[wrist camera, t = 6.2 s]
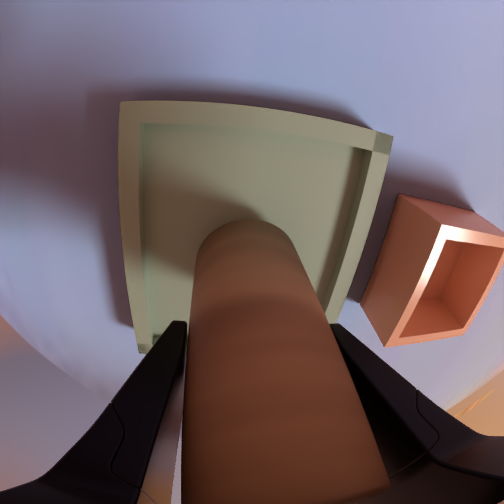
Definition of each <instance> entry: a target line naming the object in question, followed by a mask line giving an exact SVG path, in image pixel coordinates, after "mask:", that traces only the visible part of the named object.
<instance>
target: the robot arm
mask: <svg viewBox="0 0 504 504" xmlns="http://www.w3.org/2000/svg"><path fill="white" fill-rule="evenodd" d="M329 325H330V327H331V330H332V332H333V334H334V337H335V339H336V342H337V344H338V346H339V349H340V351H341V354H342V356H343V358H344V361H345V363H346V366H347V368H348V371H349V373H350V376H351V378H352V381H353V383H354V386H355V388H356V391H357V393H358V396H359V398H360V401H361V404H362V406H363V409H364V411H365V414H366V417H367V419H368V422H369V425H370V427H371V430H372V433H373V436H374V438H375V441H376V444H377V447H378V449H379V452H380V455H381V458H382V461H383V463H384V466H385V469H386V472H387V475H388V478H389V481H390V484H391V487H390V488H389V489H387V490H386V491H384V492H382V493H381V494H379V495H377V496H375V497H373V498H370V499H368V500H366V501H363V502H361V503H358V504H504V436H486V435H482V434H479V433H477V432H475V431H474V430H472V429H470V428H469V427H467V426H466V425H465V424H463V423H462V422H460V421H459V420H457V419H456V418H454V417H453V416H451V415H450V414H448V413H447V412H446V411H444V410H443V409H442V408H440V407H439V406H437V405H436V404H435V403H434V402H432V401H431V400H430V399H429V398H427V397H426V396H425V395H424V394H422V393H421V392H420V391H419V390H416V388H415V387H414V386H413V385H412V384H411V383H409V382H408V381H407V380H406V379H405V378H403V377H402V376H401V375H400V374H399V373H397V372H396V371H395V370H394V369H393V368H391V367H390V366H389V365H388V364H387V363H386V362H384V361H383V360H382V359H381V358H380V357H378V356H377V355H376V354H375V353H374V352H372V351H371V350H370V349H369V348H368V347H367V346H365V345H364V344H363V343H362V342H361V341H359V340H358V339H357V338H356V337H355V336H353V335H352V334H351V333H350V332H349V331H347V330H346V329H345V328H344V327H343V326H342V325H340V324H338V323H332V324H329ZM187 341H188V331H187V322H186V321H180V320H173V321H172V322H171V323H170V324H169V326H168V327H167V328H166V330H165V331H164V332H163V333H162V335H161V336H160V337H159V339H158V340H157V341H156V342H155V344H154V345H153V346H152V348H151V349H150V350H149V352H148V353H147V354H146V356H145V357H144V358H143V359H142V361H141V362H140V363H139V365H138V366H137V367H136V369H135V370H134V371H133V373H132V374H131V375H130V377H129V378H128V379H127V381H126V382H125V383H124V385H123V386H122V387H121V389H120V390H119V391H118V393H117V394H116V395H115V397H114V398H113V399H112V401H111V403H109V404H108V406H107V407H106V409H105V410H104V411H103V413H102V414H101V415H100V416H99V418H98V419H97V420H96V421H95V423H94V424H93V425H92V426H91V428H90V429H89V430H88V431H87V432H86V433H85V434H84V435H83V436H82V437H81V439H80V440H79V441H78V442H77V443H76V444H75V445H74V446H73V447H72V448H71V449H70V450H69V451H68V452H67V453H66V454H65V455H64V456H63V457H62V458H61V459H60V460H59V461H58V462H57V463H56V464H55V465H54V466H53V467H52V468H51V469H50V470H49V471H48V472H47V473H45V474H44V475H43V476H41V477H39V478H38V479H36V480H33V481H31V482H28V483H26V484H22V485H19V486H16V487H13V488H10V489H7V490H4V491H1V492H0V504H171V494H172V486H173V478H174V470H175V463H176V455H177V448H178V441H179V434H180V427H181V421H182V414H183V398H184V381H185V366H186V353H187Z"/></svg>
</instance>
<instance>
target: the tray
mask: <svg viewBox="0 0 504 504" xmlns="http://www.w3.org/2000/svg"><path fill="white" fill-rule="evenodd" d="M392 141H393V136H391V135H388V134H385V133H381V132H378V131H375V130H371V129H367V128H364V127H360V126H356V125H352V124H348V123H344V122H340V121H335V120H331V119H326V118H321V117H317V116H312V115H306V114H301V113H295V112H290V111H283V110H277V109H270V108H263V107H255V106H247V105H237V104H227V103H214V102H198V101H168V100H148V101H121V102H120V109H119V129H118V192H119V212H120V227H121V239H122V250H123V259H124V268H125V276H126V283H127V290H128V297H129V303H130V309H131V315H132V320H133V326H134V331H135V336H136V341H137V346H138V350H139V353H143V354H147V353H148V352H149V350H150V349H151V348H152V346H153V345H154V344H155V342H156V341H157V340H158V339H159V337H160V336H161V335H162V333H163V332H164V331H165V330H166V328H167V327H168V326H169V324H170V323H171V322H172V321H173V320H180V321H186V322H187V331H188V329H189V318H190V308H191V299H192V289H193V281H194V272H195V264H196V257H197V253H198V250H199V248H200V246H201V244H202V242H203V241H204V240H205V238H206V237H207V236H208V235H209V234H210V233H211V232H212V231H214V230H215V229H217V228H218V227H220V226H222V225H224V224H226V223H229V222H231V221H236V220H241V219H257V220H262V221H266V222H269V223H271V224H273V225H275V226H277V227H279V228H280V229H281V230H283V231H284V232H285V233H286V234H287V235H288V236H289V238H290V239H291V241H292V242H293V245H294V247H295V249H296V251H297V253H298V255H299V257H300V260H301V262H302V264H303V266H304V268H305V271H306V273H307V275H308V277H309V279H310V282H311V284H312V286H313V288H314V291H315V293H316V295H317V297H318V300H319V302H320V304H321V307H322V309H323V311H324V313H325V316H326V318H327V320H328V323H329V324H332V323H336V322H337V319H338V317H339V314H340V312H341V309H342V307H343V304H344V301H345V299H346V296H347V294H348V291H349V288H350V285H351V283H352V280H353V277H354V274H355V272H356V269H357V266H358V263H359V260H360V257H361V254H362V251H363V248H364V245H365V242H366V239H367V236H368V232H369V229H370V226H371V223H372V219H373V216H374V212H375V209H376V205H377V202H378V198H379V195H380V191H381V187H382V183H383V179H384V175H385V171H386V167H387V163H388V159H389V155H390V150H391V146H392Z"/></svg>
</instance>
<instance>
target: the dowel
mask: <svg viewBox="0 0 504 504" xmlns="http://www.w3.org/2000/svg"><path fill="white" fill-rule="evenodd" d="M181 453H182V454H181V504H358V503H361V502H363V501H366V500H368V499H370V498H373V497H375V496H377V495H379V494H381V493H382V492H384V491H386V490H387V489H389V488H390V487H391V484H390V481H389V478H388V475H387V472H386V469H385V466H384V463H383V461H382V458H381V455H380V452H379V449H378V447H377V444H376V441H375V438H374V436H373V433H372V430H371V427H370V425H369V422H368V419H367V417H366V414H365V411H364V409H363V406H362V404H361V401H360V398H359V396H358V393H357V391H356V388H355V386H354V383H353V381H352V378H351V376H350V373H349V371H348V368H347V366H346V363H345V361H344V358H343V356H342V354H341V351H340V349H339V346H338V344H337V342H336V339H335V337H334V334H333V332H332V330H331V327H330V325H329V323H328V320H327V318H326V316H325V313H324V311H323V309H322V307H321V304H320V302H319V300H318V297H317V295H316V293H315V291H314V288H313V286H312V284H311V282H310V279H309V277H308V275H307V273H306V271H305V268H304V266H303V264H302V262H301V260H300V257H299V255H298V253H297V251H296V249H295V247H294V245H293V242H292V241H291V239H290V238H289V236H288V235H287V234H286V233H285V232H284V231H283V230H281V229H280V228H279V227H277V226H275V225H273V224H271V223H269V222H266V221H262V220H257V219H241V220H236V221H231V222H229V223H226V224H224V225H222V226H220V227H218V228H217V229H215V230H214V231H212V232H211V233H210V234H209V235H208V236H207V237H206V238H205V240H204V241H203V242H202V244H201V246H200V248H199V250H198V253H197V257H196V264H195V272H194V281H193V289H192V299H191V308H190V318H189V329H188V341H187V353H186V366H185V381H184V398H183V419H182V451H181Z"/></svg>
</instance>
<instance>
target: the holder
mask: <svg viewBox="0 0 504 504" xmlns="http://www.w3.org/2000/svg"><path fill="white" fill-rule="evenodd" d="M503 263H504V232H503V231H501V230H500V229H499V228H497V227H496V226H494V225H493V224H492V223H490V222H489V221H487V220H486V219H484V218H483V217H482V216H480V215H479V214H477V213H475V212H472V211H468V210H465V209H461V208H457V207H453V206H450V205H446V204H442V203H438V202H433V201H429V200H425V199H421V198H416V197H412V196H407V195H403V194H398V197H397V200H396V204H395V207H394V210H393V214H392V217H391V220H390V223H389V226H388V230H387V233H386V236H385V239H384V242H383V244H382V247H381V250H380V253H379V256H378V259H377V261H376V264H375V267H374V269H373V272H372V275H371V277H370V280H369V282H368V285H367V287H366V290H365V292H364V295H363V297H362V300H361V302H360V305H361V307H362V308H363V310H364V312H365V314H366V315H367V317H368V319H369V321H370V322H371V324H372V326H373V328H374V329H375V331H376V333H377V335H378V337H379V338H380V340H381V342H382V344H383V346H384V347H392V346H399V345H407V344H413V343H420V342H426V341H432V340H438V339H444V338H449V337H454V336H459V335H464V334H465V332H466V330H467V329H468V327H469V326H470V324H471V323H472V321H473V319H474V318H475V316H476V314H477V313H478V311H479V309H480V307H481V306H482V304H483V302H484V300H485V298H486V297H487V295H488V293H489V291H490V289H491V287H492V285H493V283H494V281H495V279H496V277H497V275H498V273H499V271H500V269H501V267H502V265H503Z"/></svg>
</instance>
